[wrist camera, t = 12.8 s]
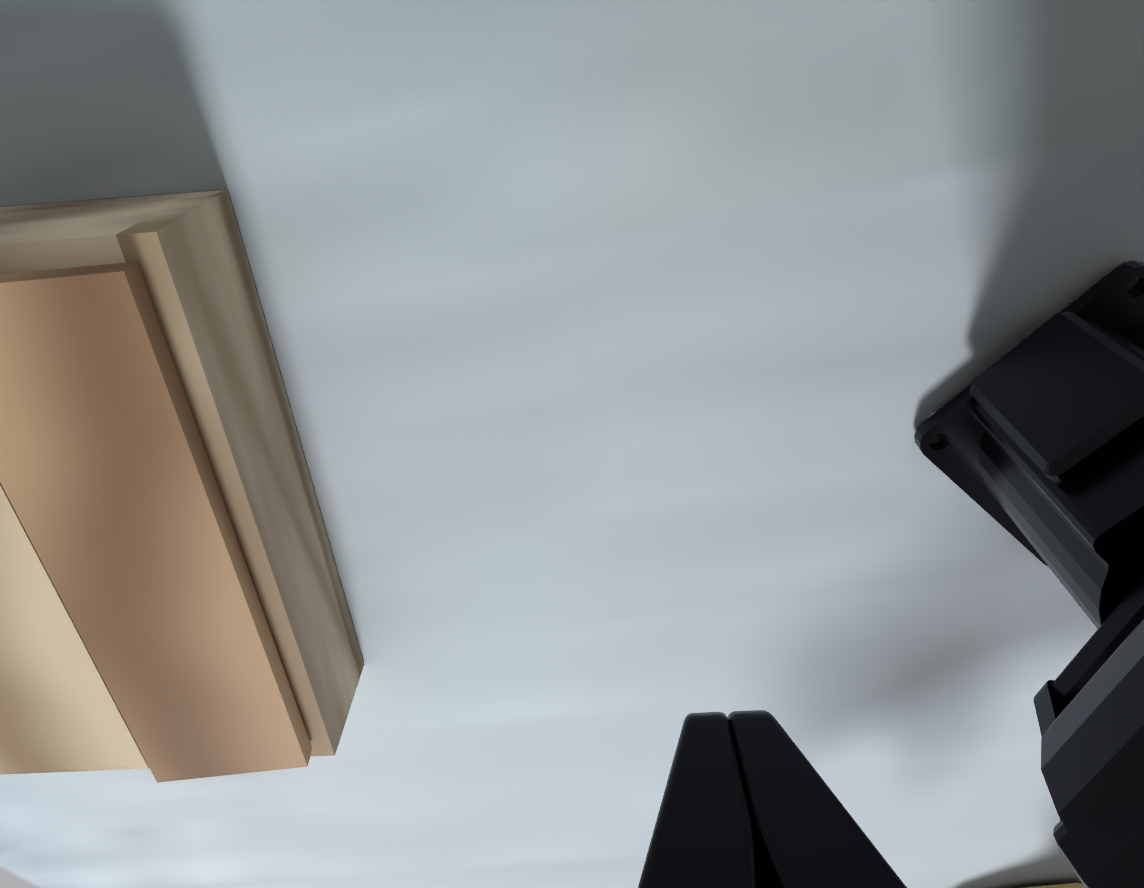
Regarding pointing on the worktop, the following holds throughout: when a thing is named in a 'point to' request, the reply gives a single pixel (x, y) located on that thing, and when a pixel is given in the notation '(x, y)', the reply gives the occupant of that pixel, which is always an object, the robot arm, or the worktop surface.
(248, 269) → the plywood box
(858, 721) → the worktop surface
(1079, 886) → the toy
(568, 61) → the worktop surface
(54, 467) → the flap
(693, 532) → the worktop surface
